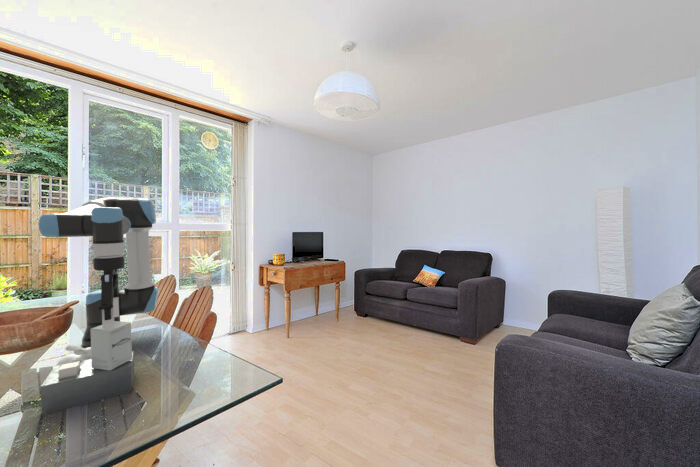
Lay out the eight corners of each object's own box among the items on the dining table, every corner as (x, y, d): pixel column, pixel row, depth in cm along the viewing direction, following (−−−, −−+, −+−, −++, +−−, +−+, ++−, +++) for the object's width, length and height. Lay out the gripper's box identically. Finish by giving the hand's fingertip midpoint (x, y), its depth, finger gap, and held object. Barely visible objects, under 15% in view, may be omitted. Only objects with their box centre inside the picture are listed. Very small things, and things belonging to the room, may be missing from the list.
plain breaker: (62, 380, 88) (61, 364, 88) (80, 377, 91) (79, 361, 90) (59, 387, 85) (58, 370, 85) (77, 382, 87) (76, 366, 87)
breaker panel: (56, 391, 93) (54, 364, 92) (134, 373, 104) (133, 349, 104) (41, 414, 81) (40, 384, 81) (131, 391, 92) (131, 364, 92)
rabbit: (101, 369, 106) (100, 337, 106) (84, 383, 97) (83, 347, 97) (62, 373, 104) (61, 339, 104) (40, 387, 95) (39, 351, 94)
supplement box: (110, 371, 89) (109, 330, 88) (90, 368, 90) (89, 328, 90) (133, 359, 96) (131, 321, 95) (114, 357, 98) (113, 320, 97)
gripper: (99, 253, 100) (101, 314, 101) (85, 262, 80) (88, 339, 81) (127, 252, 105) (129, 310, 106) (120, 260, 84) (122, 333, 85)
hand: (111, 323), depth 93 cm, fingers open, 13 cm apart
